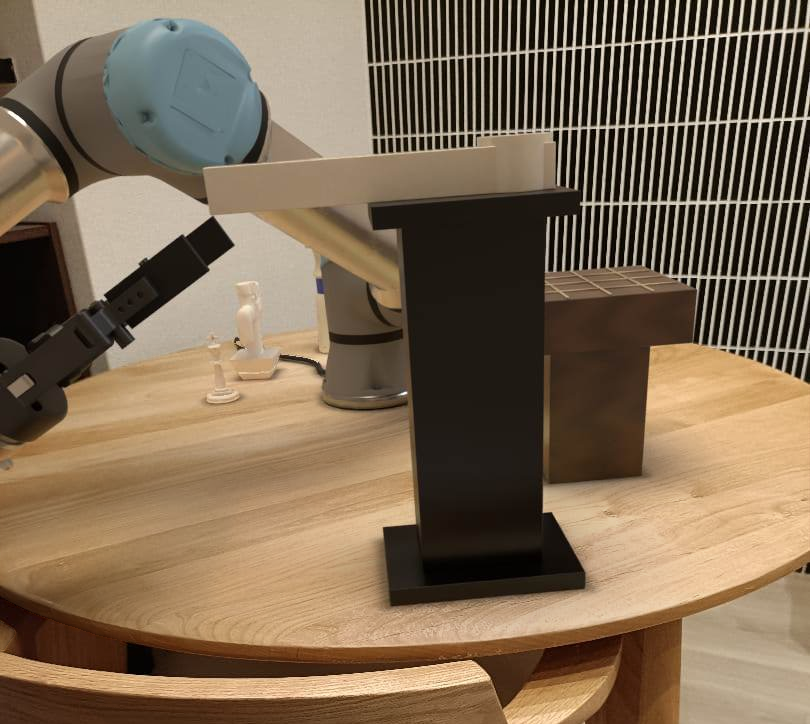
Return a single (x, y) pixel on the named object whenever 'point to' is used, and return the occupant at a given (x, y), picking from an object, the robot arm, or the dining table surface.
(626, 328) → the goban
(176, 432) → the dining table surface
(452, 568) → the stand
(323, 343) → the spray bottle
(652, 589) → the dining table surface
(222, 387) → the chess piece
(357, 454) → the dining table surface
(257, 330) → the figurine
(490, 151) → the white long bar
